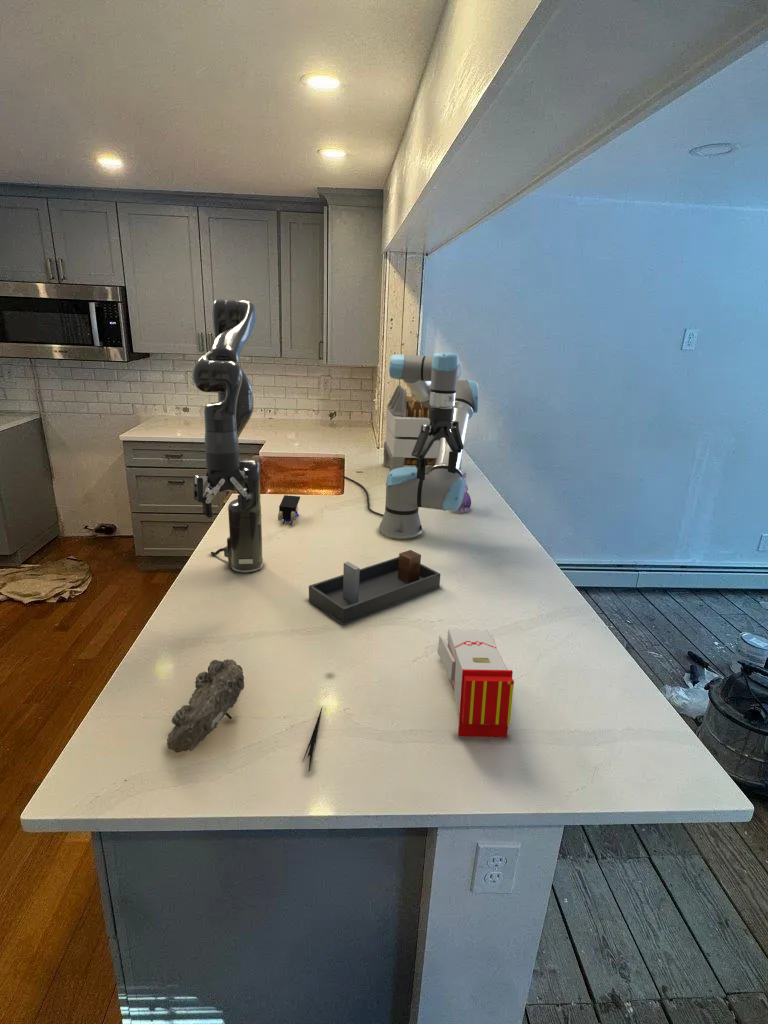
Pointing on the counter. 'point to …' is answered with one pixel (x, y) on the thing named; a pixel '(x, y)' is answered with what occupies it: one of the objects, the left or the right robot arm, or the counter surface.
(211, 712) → the fossil
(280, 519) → the figurine character
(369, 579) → the tray
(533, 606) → the counter surface
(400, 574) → the block
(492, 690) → the toy
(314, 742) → the feather
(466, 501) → the figurine
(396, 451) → the white wooden crate
